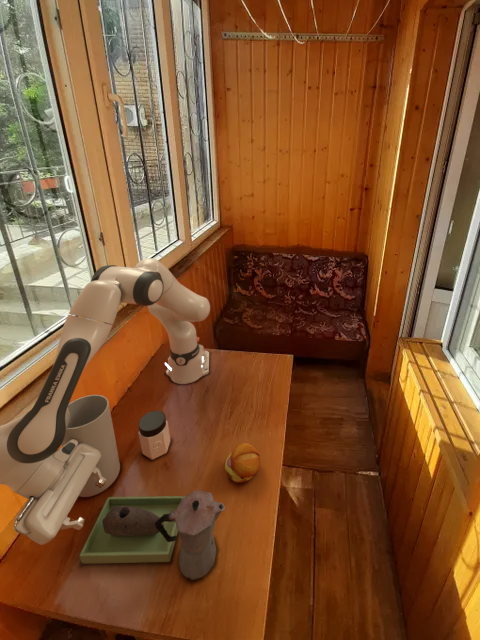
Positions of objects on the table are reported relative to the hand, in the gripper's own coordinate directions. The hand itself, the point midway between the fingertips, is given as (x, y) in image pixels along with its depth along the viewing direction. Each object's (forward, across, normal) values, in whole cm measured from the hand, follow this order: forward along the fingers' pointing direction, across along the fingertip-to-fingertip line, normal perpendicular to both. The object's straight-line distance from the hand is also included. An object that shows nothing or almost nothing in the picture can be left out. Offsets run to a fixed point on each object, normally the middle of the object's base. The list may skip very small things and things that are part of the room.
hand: (93, 503), depth 78 cm
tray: (+14, 0, +1) cm, 14 cm away
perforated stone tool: (+14, 0, +1) cm, 14 cm away
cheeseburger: (+33, +16, -17) cm, 40 cm away
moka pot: (+26, -6, -11) cm, 29 cm away
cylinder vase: (+1, +14, +14) cm, 20 cm away
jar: (+12, +24, +4) cm, 27 cm away
